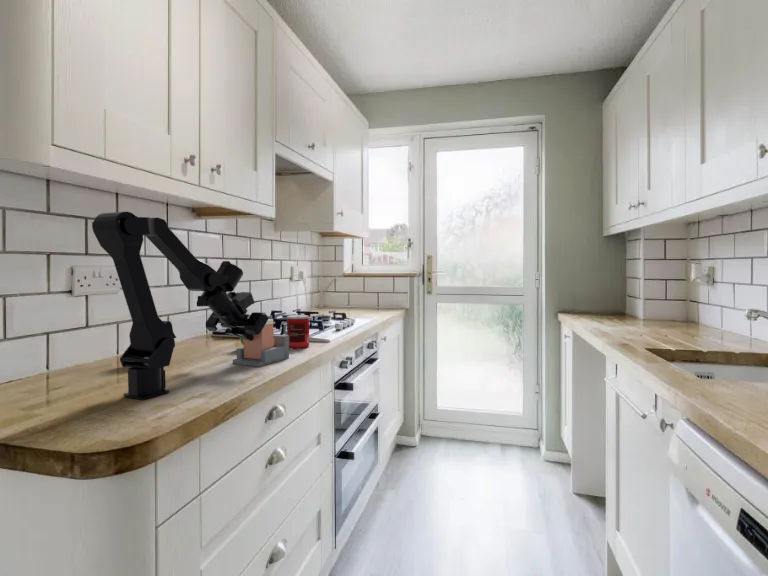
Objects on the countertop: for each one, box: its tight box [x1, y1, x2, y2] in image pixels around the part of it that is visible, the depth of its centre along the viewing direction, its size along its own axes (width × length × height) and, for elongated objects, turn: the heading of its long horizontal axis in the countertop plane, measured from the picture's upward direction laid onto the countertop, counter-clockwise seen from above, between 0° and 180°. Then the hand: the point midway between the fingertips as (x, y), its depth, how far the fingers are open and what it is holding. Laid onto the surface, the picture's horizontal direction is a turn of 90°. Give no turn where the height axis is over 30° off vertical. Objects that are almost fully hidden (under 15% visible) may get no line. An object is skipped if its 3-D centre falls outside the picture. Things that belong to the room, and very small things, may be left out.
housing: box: [232, 333, 290, 367], centre depth 129 cm, size 13×11×7 cm
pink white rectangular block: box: [242, 318, 274, 360], centre depth 128 cm, size 5×7×11 cm
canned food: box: [286, 314, 310, 350], centre depth 152 cm, size 8×8×11 cm
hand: (251, 339), depth 126 cm, fingers closed, pressing on pink white rectangular block
